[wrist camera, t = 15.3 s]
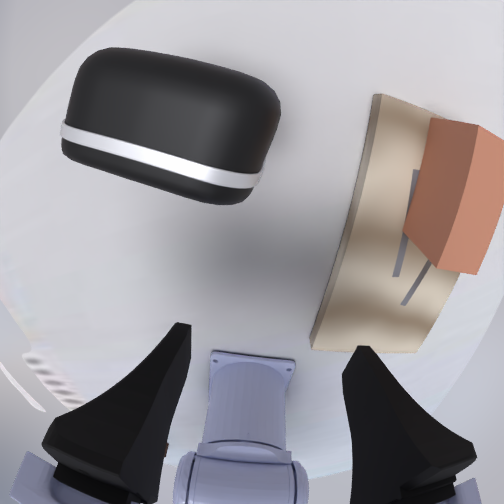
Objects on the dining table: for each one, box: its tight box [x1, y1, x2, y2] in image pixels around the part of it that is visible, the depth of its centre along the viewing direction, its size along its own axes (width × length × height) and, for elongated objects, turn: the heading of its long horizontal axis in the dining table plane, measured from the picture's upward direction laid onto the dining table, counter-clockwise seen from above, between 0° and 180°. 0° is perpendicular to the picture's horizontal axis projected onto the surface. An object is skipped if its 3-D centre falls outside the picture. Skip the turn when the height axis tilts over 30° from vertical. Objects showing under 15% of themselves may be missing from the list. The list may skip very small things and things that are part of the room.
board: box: [310, 94, 461, 353], centre depth 19 cm, size 20×11×2 cm, turn 172°
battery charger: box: [60, 47, 281, 205], centre depth 11 cm, size 7×4×11 cm, turn 70°
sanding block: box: [402, 117, 504, 275], centre depth 13 cm, size 8×4×5 cm, turn 173°
